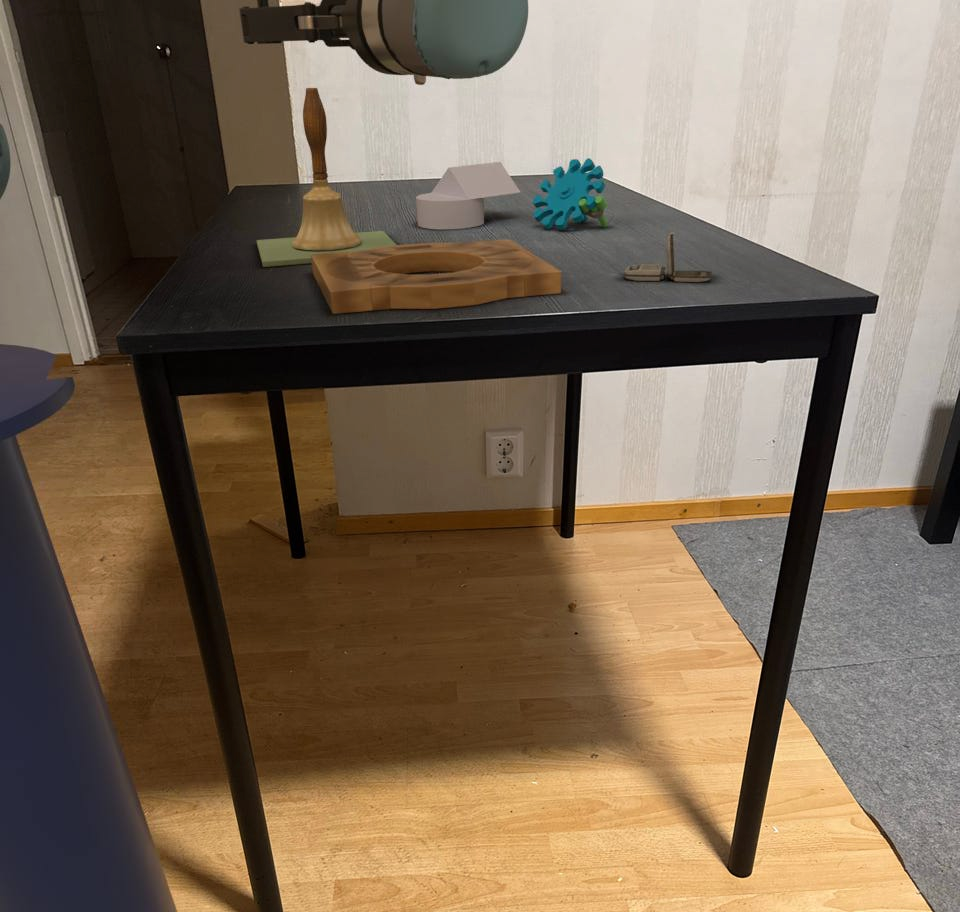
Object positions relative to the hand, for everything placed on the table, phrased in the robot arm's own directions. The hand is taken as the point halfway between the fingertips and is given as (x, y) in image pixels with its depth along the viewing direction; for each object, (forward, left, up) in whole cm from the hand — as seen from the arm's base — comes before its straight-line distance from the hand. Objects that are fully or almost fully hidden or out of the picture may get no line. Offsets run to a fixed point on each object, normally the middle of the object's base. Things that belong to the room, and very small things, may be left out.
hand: (327, 25), depth 86 cm
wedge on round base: (+18, +23, -22) cm, 37 cm away
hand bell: (-2, +10, -22) cm, 24 cm away
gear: (+30, +13, -22) cm, 40 cm away
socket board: (+6, -12, -22) cm, 26 cm away
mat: (-2, +10, -22) cm, 24 cm away
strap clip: (+29, -19, -22) cm, 41 cm away
